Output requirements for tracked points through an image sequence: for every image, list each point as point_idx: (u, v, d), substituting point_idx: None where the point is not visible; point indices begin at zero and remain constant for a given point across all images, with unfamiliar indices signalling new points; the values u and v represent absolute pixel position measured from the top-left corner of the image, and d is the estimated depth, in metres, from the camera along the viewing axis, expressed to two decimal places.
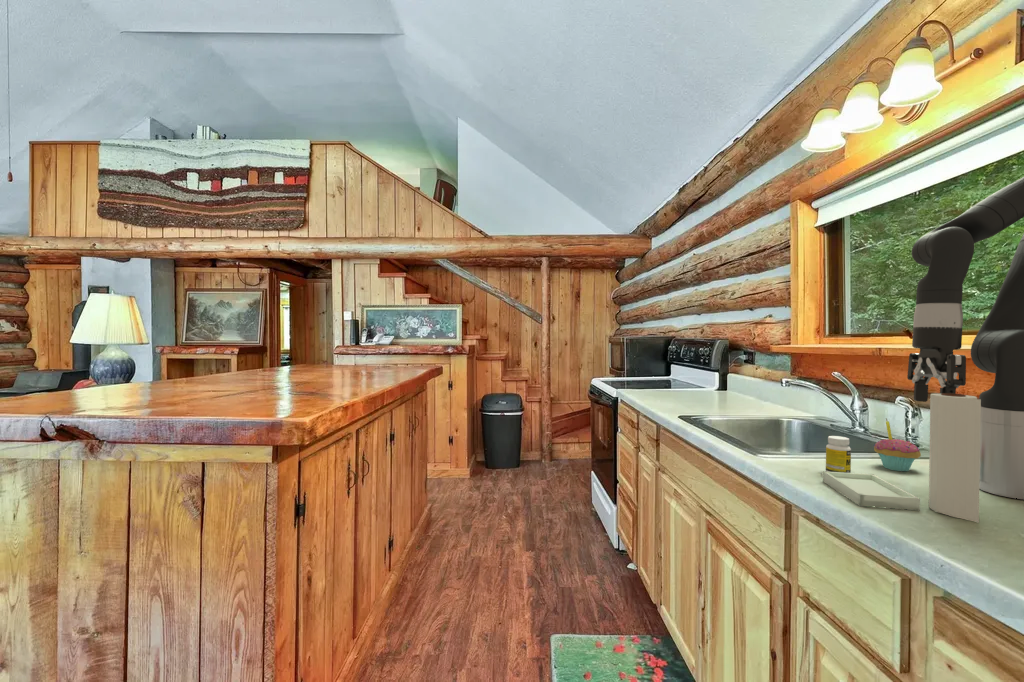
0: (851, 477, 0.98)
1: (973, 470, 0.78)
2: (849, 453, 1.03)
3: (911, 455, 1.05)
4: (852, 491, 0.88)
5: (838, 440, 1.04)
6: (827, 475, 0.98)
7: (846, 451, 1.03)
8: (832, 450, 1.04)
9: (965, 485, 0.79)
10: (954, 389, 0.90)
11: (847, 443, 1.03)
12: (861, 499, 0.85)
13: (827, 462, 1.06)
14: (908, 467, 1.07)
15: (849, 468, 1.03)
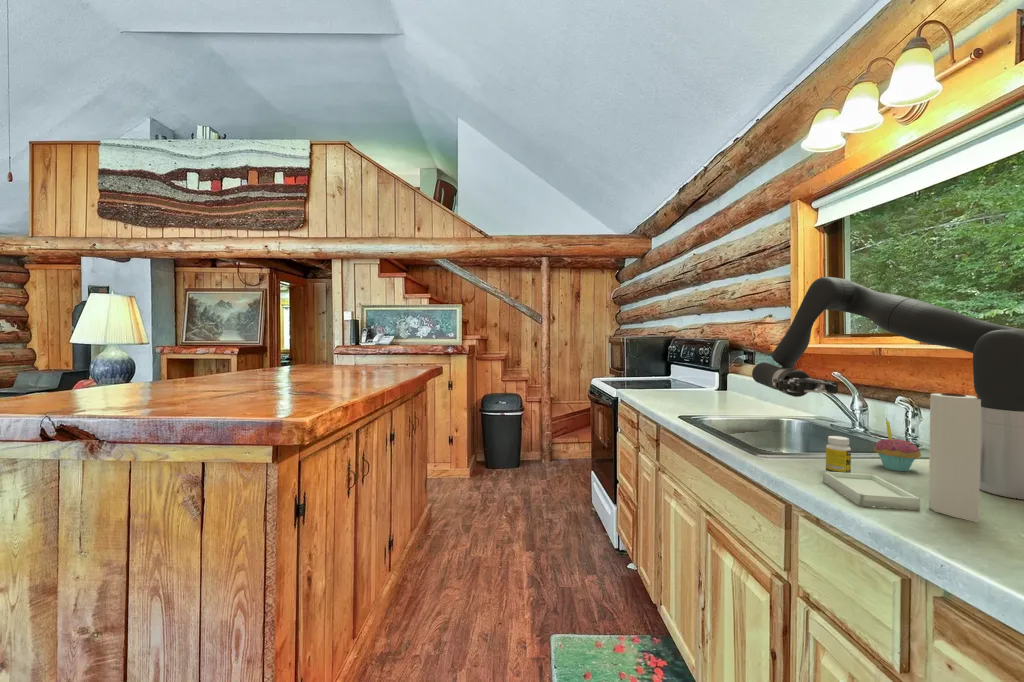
0: (851, 477, 0.98)
1: (973, 470, 0.78)
2: (849, 453, 1.03)
3: (911, 455, 1.05)
4: (852, 491, 0.88)
5: (838, 440, 1.04)
6: (827, 475, 0.98)
7: (846, 451, 1.03)
8: (832, 450, 1.04)
9: (965, 485, 0.79)
10: (788, 384, 1.20)
11: (847, 443, 1.03)
12: (861, 499, 0.85)
13: (827, 462, 1.06)
14: (908, 467, 1.07)
15: (849, 468, 1.03)
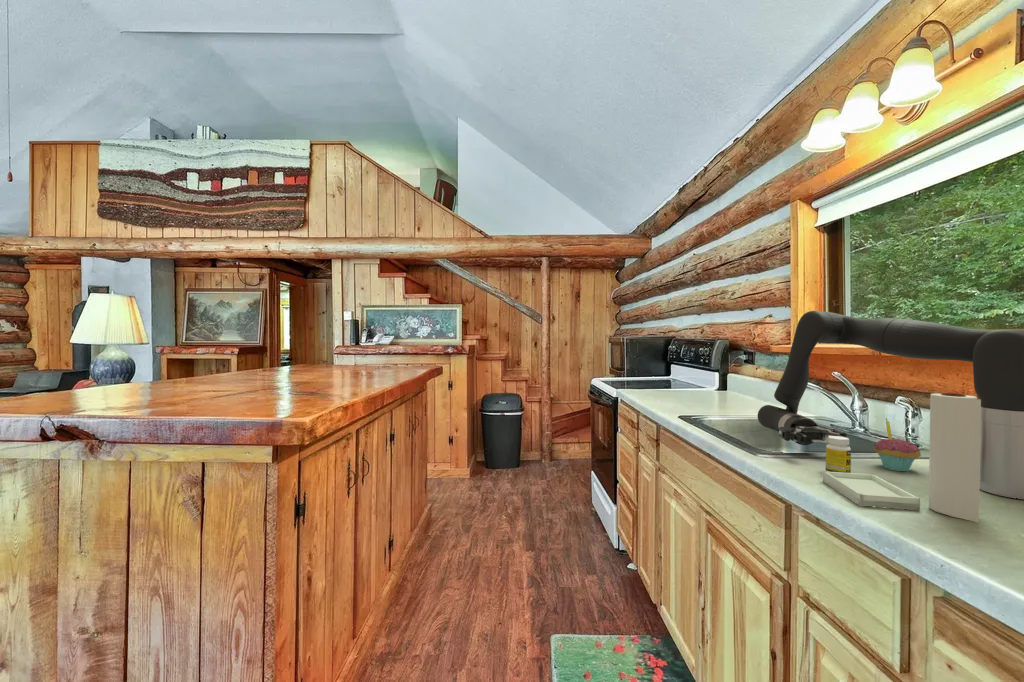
0: (851, 477, 0.98)
1: (973, 470, 0.78)
2: (849, 453, 1.03)
3: (911, 455, 1.05)
4: (852, 491, 0.88)
5: (838, 440, 1.04)
6: (827, 475, 0.98)
7: (846, 451, 1.03)
8: (832, 450, 1.04)
9: (965, 485, 0.79)
10: (794, 435, 1.17)
11: (847, 443, 1.03)
12: (861, 499, 0.85)
13: (827, 462, 1.06)
14: (908, 467, 1.07)
15: (849, 468, 1.03)
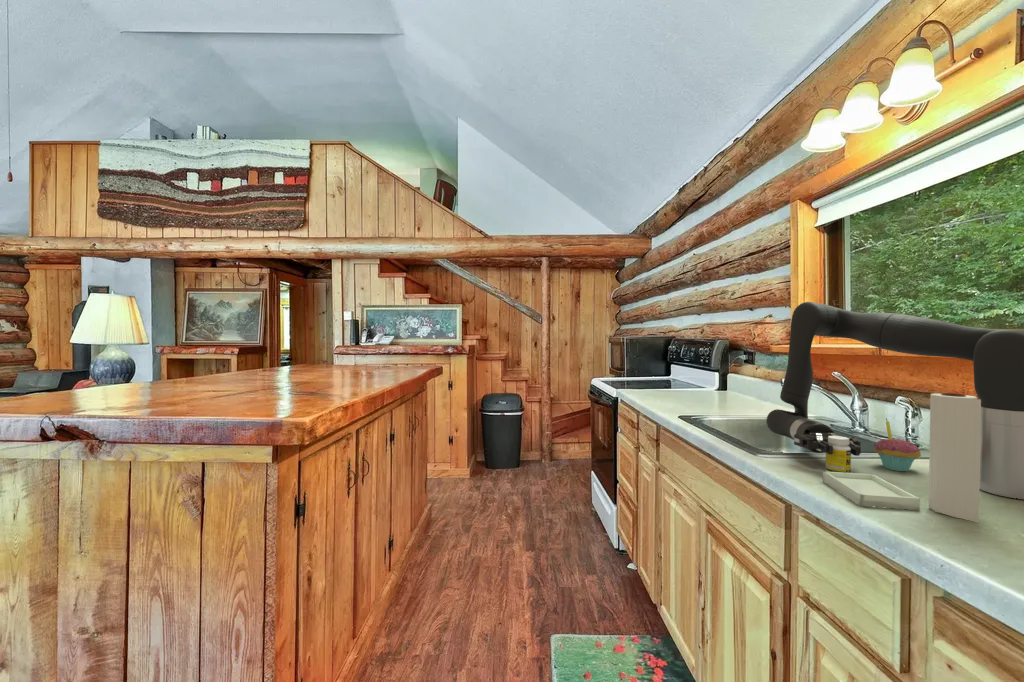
0: (851, 477, 0.98)
1: (973, 470, 0.78)
2: (849, 453, 1.03)
3: (911, 455, 1.05)
4: (852, 491, 0.88)
5: (838, 440, 1.04)
6: (827, 475, 0.98)
7: (846, 451, 1.03)
8: None
9: (965, 485, 0.79)
10: (818, 443, 1.07)
11: (847, 443, 1.03)
12: (861, 499, 0.85)
13: (827, 462, 1.06)
14: (908, 467, 1.07)
15: (849, 468, 1.03)
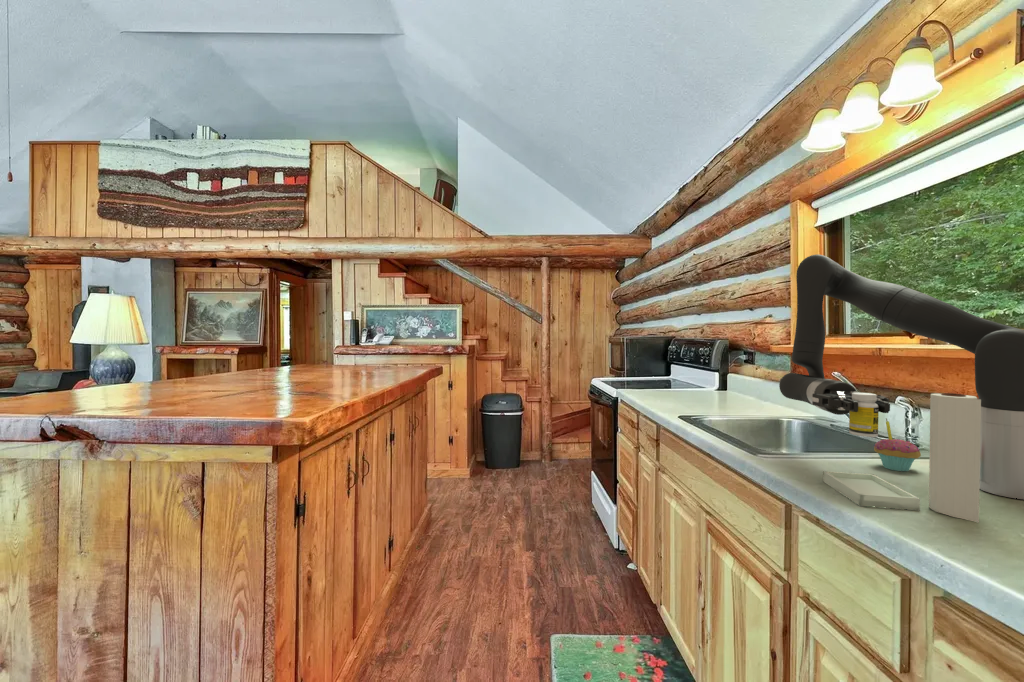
0: (851, 477, 0.98)
1: (973, 470, 0.78)
2: (877, 411, 0.91)
3: (911, 455, 1.05)
4: (852, 491, 0.88)
5: (864, 396, 0.91)
6: (827, 475, 0.98)
7: (873, 408, 0.91)
8: None
9: (965, 485, 0.79)
10: (841, 401, 0.94)
11: (874, 399, 0.91)
12: (861, 499, 0.85)
13: (850, 421, 0.93)
14: (908, 467, 1.07)
15: (876, 427, 0.91)
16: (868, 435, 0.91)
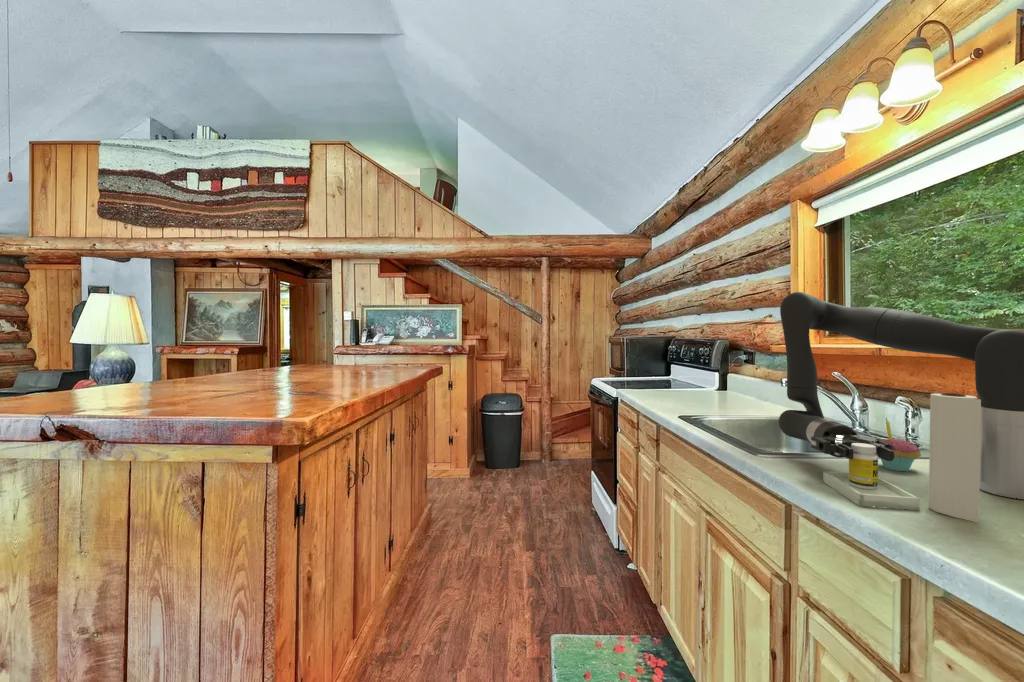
0: None
1: (973, 470, 0.78)
2: (876, 463, 0.91)
3: (911, 455, 1.05)
4: (852, 491, 0.88)
5: (863, 448, 0.91)
6: (827, 475, 0.98)
7: (873, 460, 0.91)
8: (856, 460, 0.92)
9: (965, 485, 0.79)
10: (836, 447, 0.95)
11: (874, 451, 0.91)
12: (861, 499, 0.85)
13: (850, 473, 0.93)
14: (908, 467, 1.07)
15: (876, 480, 0.91)
16: (868, 488, 0.91)
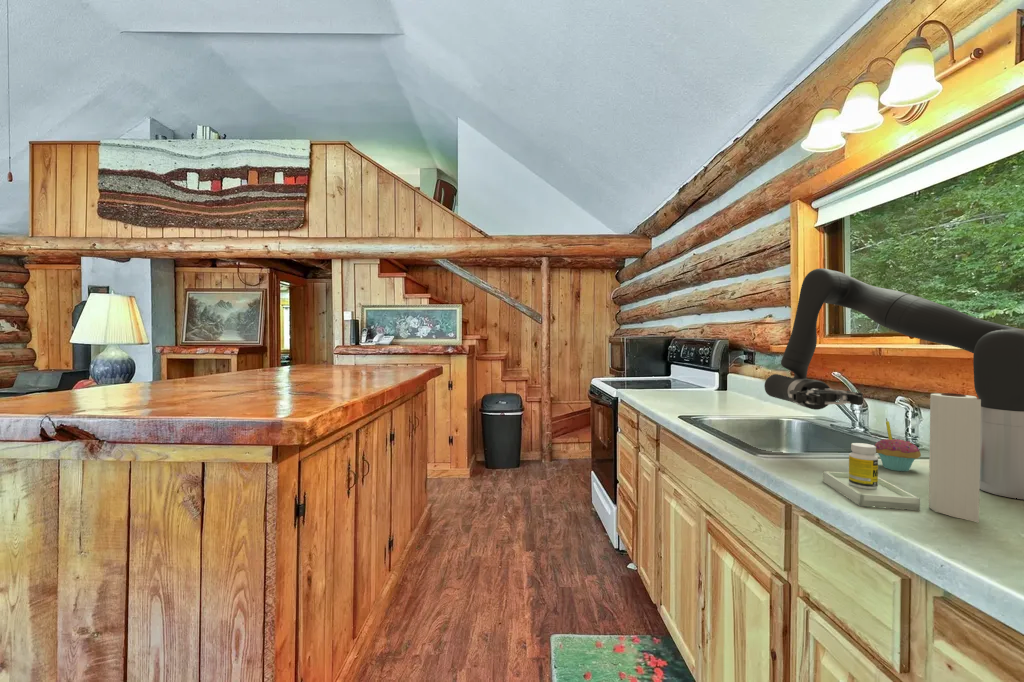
0: None
1: (973, 470, 0.78)
2: (876, 463, 0.91)
3: (911, 455, 1.05)
4: (852, 491, 0.88)
5: (863, 448, 0.91)
6: (827, 475, 0.98)
7: (873, 460, 0.91)
8: (857, 460, 0.92)
9: (965, 485, 0.79)
10: (806, 396, 1.09)
11: (874, 451, 0.91)
12: (861, 499, 0.85)
13: (850, 473, 0.93)
14: (908, 467, 1.07)
15: (876, 480, 0.91)
16: (868, 488, 0.91)
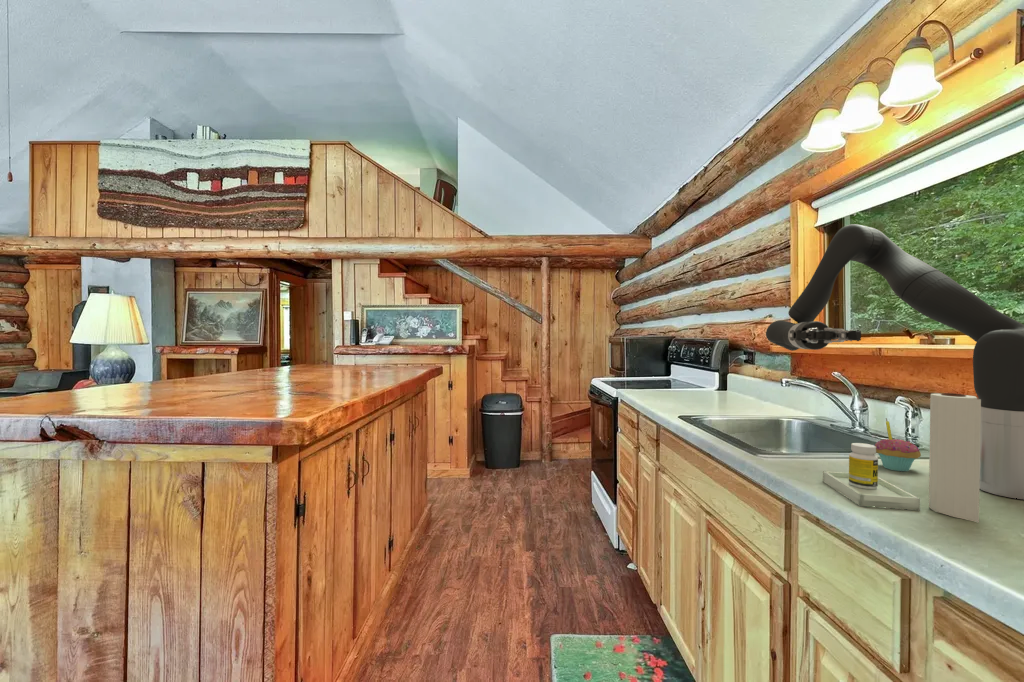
0: None
1: (973, 470, 0.78)
2: (876, 463, 0.91)
3: (911, 455, 1.05)
4: (852, 491, 0.88)
5: (863, 448, 0.91)
6: (827, 475, 0.98)
7: (873, 460, 0.91)
8: (857, 460, 0.92)
9: (965, 485, 0.79)
10: (806, 333, 1.12)
11: (874, 451, 0.91)
12: (861, 499, 0.85)
13: (850, 473, 0.93)
14: (908, 467, 1.07)
15: (876, 480, 0.91)
16: (868, 488, 0.91)
